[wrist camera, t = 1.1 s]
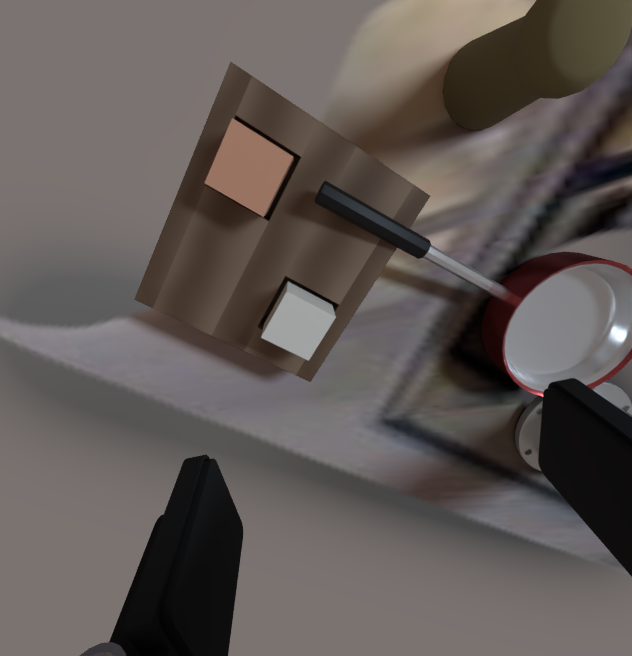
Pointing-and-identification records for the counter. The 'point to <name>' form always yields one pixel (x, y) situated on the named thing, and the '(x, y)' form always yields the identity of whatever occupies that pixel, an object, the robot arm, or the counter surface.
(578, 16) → the olive brown rounded cylinder
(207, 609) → the robot arm
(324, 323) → the cream key
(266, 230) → the brown wooden flat board
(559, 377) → the frying pan
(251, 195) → the terracotta key
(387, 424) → the counter surface
